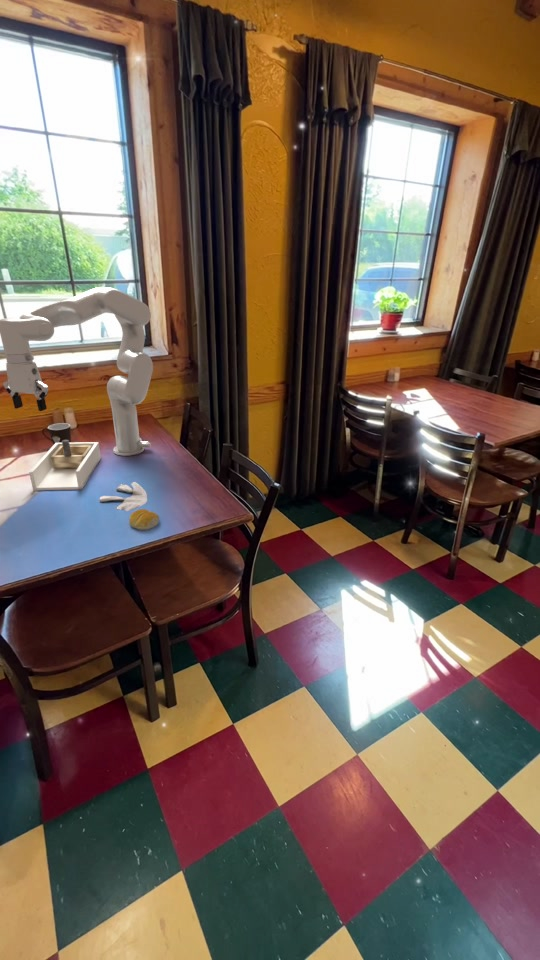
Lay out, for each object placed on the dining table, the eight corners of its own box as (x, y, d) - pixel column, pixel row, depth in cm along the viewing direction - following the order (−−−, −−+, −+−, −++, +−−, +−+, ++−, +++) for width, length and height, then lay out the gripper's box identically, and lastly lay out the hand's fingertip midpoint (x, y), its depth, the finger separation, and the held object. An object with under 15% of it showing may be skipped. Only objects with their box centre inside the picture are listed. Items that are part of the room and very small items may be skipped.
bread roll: (143, 513, 142) (142, 502, 140) (163, 522, 138) (162, 511, 136) (123, 524, 136) (121, 513, 134) (143, 533, 131) (142, 522, 130)
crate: (93, 457, 178) (89, 431, 173) (85, 469, 167) (81, 441, 162) (62, 457, 176) (57, 431, 172) (52, 469, 166) (47, 442, 161)
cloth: (131, 516, 141) (130, 510, 140) (76, 503, 147) (75, 497, 146) (166, 490, 158) (166, 484, 157) (115, 479, 165) (114, 473, 164)
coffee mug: (78, 448, 189) (74, 425, 185) (60, 454, 183) (56, 431, 179) (61, 442, 195) (57, 420, 191) (43, 448, 188) (38, 425, 184)
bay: (100, 458, 180) (98, 442, 177) (82, 489, 155) (79, 471, 152) (59, 458, 178) (55, 442, 175) (33, 490, 153) (29, 472, 150)
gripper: (49, 358, 146) (59, 408, 154) (6, 354, 150) (17, 403, 158) (33, 362, 140) (44, 414, 147) (-12, 358, 143) (1, 409, 151)
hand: (30, 408), depth 152 cm, fingers open, 9 cm apart
